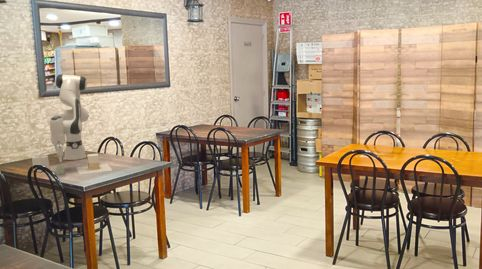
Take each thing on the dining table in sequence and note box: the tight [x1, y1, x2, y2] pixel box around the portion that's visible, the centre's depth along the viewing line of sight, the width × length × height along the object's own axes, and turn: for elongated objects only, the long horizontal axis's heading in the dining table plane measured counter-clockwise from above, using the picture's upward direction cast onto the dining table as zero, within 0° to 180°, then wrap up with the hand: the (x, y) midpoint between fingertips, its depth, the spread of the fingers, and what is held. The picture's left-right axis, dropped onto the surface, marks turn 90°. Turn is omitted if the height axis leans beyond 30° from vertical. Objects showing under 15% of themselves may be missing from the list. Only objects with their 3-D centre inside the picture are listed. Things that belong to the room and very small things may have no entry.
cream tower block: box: [86, 153, 100, 164], centre depth 335 cm, size 7×7×5 cm
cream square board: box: [75, 163, 113, 175], centre depth 336 cm, size 24×22×1 cm
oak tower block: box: [87, 161, 100, 170], centre depth 336 cm, size 7×7×5 cm
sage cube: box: [55, 165, 66, 176], centre depth 327 cm, size 5×5×5 cm
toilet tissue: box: [31, 154, 50, 173], centre depth 338 cm, size 11×12×10 cm
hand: (60, 160), depth 326 cm, fingers open, 8 cm apart
